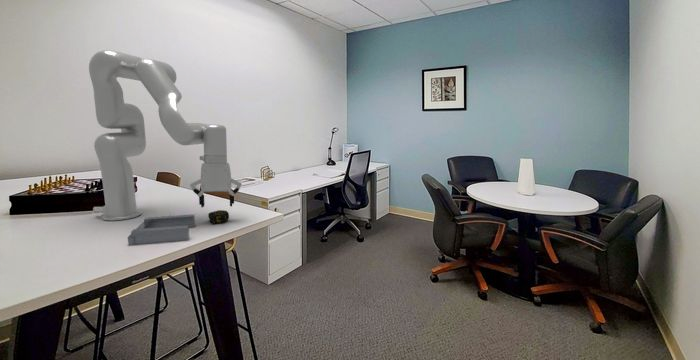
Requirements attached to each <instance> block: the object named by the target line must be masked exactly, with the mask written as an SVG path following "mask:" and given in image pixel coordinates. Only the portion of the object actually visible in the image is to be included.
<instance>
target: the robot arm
mask: <svg viewBox="0 0 700 360" xmlns="http://www.w3.org/2000/svg"><path fill="white" fill-rule="evenodd" d="M88 72H89V78H90V80H91V81H90V82H91V84H92V88H93V99H94V107H95V116H96V121H97V124H99V126H100V127H102V128H105V129H111V130H117V129H118V130H119V129H120V131H119V132H106V133H102V134H100V135H99V136H97V138H96V139H95V141H94V143H93V144H94V145H93V148H94V151H95V154H96V156H97V159H98V163H99V167H100V174H101V181H102V188H103V196H104V203H105V205H103V206H93V208H92V211H93V213H94V214H99V213H102V214H101V220H104V221H108V222H109V221H114V222H115V221H123V220H124V221H125V220H129V219H133V218H137V217H139V216H141V215H142V214H143V211H142V210H141V209H139V208H137V200H136V190H135V181H134V173H133V172H134V171H133V167H132V165H131V163H130V162H129V160H128V158H132V157H137V156H140V155H142V154H143V153H144V152H145V149H146V145H147V144H146V143H147V140H146V127H145V126H146V125H145V118H144V114H143V112H142V111H141V109H140V108H139V107H138V106H136V105H134V104H132V103H126V102H125V99H124V91H123V88H122V86H121V84H120V82H119V81H118V80H117V79H118V78H121V79H127V80H128V79H129V80H133V81H140V82H141V84H142V85H143V87H144V88H145V89H146V91H147V92H148V93H149V95H150V96H151V97H152V99H153V101H155V103H156V104H157V106H158V111H157V112H158V116H159V117H158V118H159V121H160V123H161V125H162V126H163V128H164V129H165V131H166V132H167V134H168V136H170V138H171V139H172V140H173V141H174V142H175V143H177V144H179V145H180V146H194V145H203V155H200V156H199V161H203V163H201V168H200V179H197V180H195V181H194V182H192V183H190V184H189V187H190V189H192V191H193V193H194V194H196V195H197V196H198V201H199V202H198V204H199V205H200V206H201V207H200V208H204V207H205V193H222V192H226V193H228V194H229V206H230V207H233V205H234V204H235V195H236V194H237V193H238V192H240V189H241V187H242V185H243V184H242V182H240V181H238V180H236V179H234V178H232V172H231V167H230V166H231V165H230V163H229V162H228V153H227V152H228V151H227V150H228V147H227V145H228V143H227V141H228V140H227V128H226V126H225V125H223V124H206V123H199V122H198V123H197V122H187V121H186V120H185V119H184V118H183V116H182V115H181V114H180V112H179V110H178V106H177V104H179V103H180V101H181V100H182V93H181V92H180V90H179V89H178V87H177V86H176V85H175V83H176V82H177V72H176V70H175V68H174V67H173V66H171V65H170V64H168V63H167V62H163V61H161V60H156V59H153V58H144V57H139V56H136V55H132V54H127V53H123V52H120V51H116V50H110V49H109V50H107V49H106V50H100V51H97V52H96V53H94V54H93V56H92V57H91V58H90V61H89V65H88ZM232 184H234V185H236V187H235V188H234V189H233V188H232ZM197 185H200V190H199V189H198V188H197Z"/></svg>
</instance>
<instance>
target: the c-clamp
mask: <svg viewBox="0 0 700 360" xmlns="http://www.w3.org/2000/svg"><path fill="white" fill-rule="evenodd" d="M195 226H196V218H195V214H181V215H179V214H178V215H177V214H176V215H164V216H150V217H149V216H148V217H147V216H146V217H145V218H144V219H143V221H142V222H141V224H139V225H138V226H137V227H136V228H135V229H132V230H131V232H130V234H129V235H128V237H127V244H128V246H133V245H134V246H135V245H148V244H158V243H159V244H160V243H170V242H172V243H173V242H182V241H189V239H190V229H191V228H192V229H193V228H195Z"/></svg>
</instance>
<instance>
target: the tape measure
mask: <svg viewBox="0 0 700 360" xmlns="http://www.w3.org/2000/svg"><path fill="white" fill-rule="evenodd" d="M207 216H208V220H209V222H210V223H211V224H213V225H214V224H217V223H219V224H220V223H225V222H227V221H229V218H230V213H229V212H228V211H227V210H224V209H223V210H222V209H219V210H215V211H212V212H209V213H208V214H207Z"/></svg>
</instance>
